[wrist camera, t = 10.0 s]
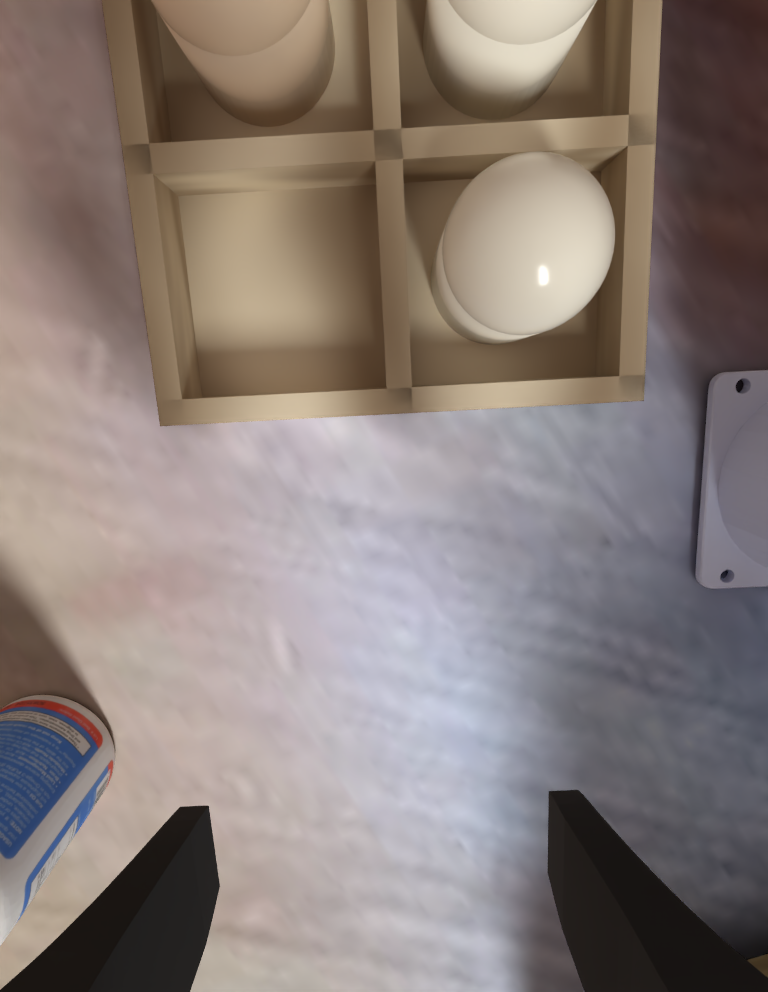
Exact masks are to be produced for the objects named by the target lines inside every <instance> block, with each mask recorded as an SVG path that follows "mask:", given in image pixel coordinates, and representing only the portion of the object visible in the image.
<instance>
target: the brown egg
mask: <svg viewBox="0 0 768 992" xmlns="http://www.w3.org/2000/svg"><path fill="white" fill-rule="evenodd" d="M151 1H152V3H153V5H154V6H155V8H156V10H157V12H158V13H159V15H160V16H161V18H162V19H163V21H164V23H165V24H166V26H167V27H168V29H169V30H170V32H171V34H172V35H173V37H174V38H175V40H176V42H177V43H178V45H179V46H180V48H181V49H182V51H183V53H184V54H185V56H186V57H187V59H188V61H189V62H190V64H191V65H192V67H193V68H194V70H195V72H196V73H197V75H198V76H199V78H200V80H201V81H202V83H203V84H204V86H205V87H206V89H207V91H208V92H209V93H210V95H211V96H212V98H213V99H214V100H215V101H216V102H217V104H218V105H219V106H220V107H221V108H222V109H224V110H225V111H226V112H227V113H228V114H230V115H231V116H233V117H234V118H236V119H238V120H240V121H242V122H244V123H248V124H251V125H255V126H261V127H274V126H281V125H285V124H288V123H291V122H293V121H295V120H297V119H299V118H300V117H302V116H303V115H305V114H306V113H307V112H308V111H310V110H311V109H312V108H313V107H314V106H315V104H316V103H317V102H318V101H319V100H320V98H321V97H322V95H323V94H324V92H325V90H326V88H327V86H328V84H329V81H330V78H331V75H332V71H333V67H334V61H335V37H334V30H333V23H332V17H331V11H330V4H329V0H151Z"/></svg>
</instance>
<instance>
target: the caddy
mask: <svg viewBox="0 0 768 992" xmlns="http://www.w3.org/2000/svg"><path fill="white" fill-rule="evenodd" d="M426 1H427V0H329V4H330V11H331V17H332V23H333V30H334V37H335V61H334V67H333V71H332V75H331V78H330V81H329V84H328V86H327V88H326V90H325V92H324V94H323V95H322V97H321V98H320V100H319V101H318V102H317V103H316V104H315V106H314V107H313V108H312V109H311V110H310V111H308V112H307V113H306V114H305V115H303V116H302V117H300V118H299V119H297V120H295V121H293V122H291V123H288V124H285V125H281V126H274V127H261V126H255V125H251V124H248V123H244V122H242V121H240V120H238V119H236V118H234V117H233V116H231V115H230V114H228V113H227V112H226V111H225V110H224V109H222V108H221V107H220V106H219V105H218V104H217V102H216V101H215V100H214V99H213V98H212V96H211V95H210V93H209V92H208V91H207V89H206V87H205V86H204V84H203V83H202V81H201V80H200V78H199V76H198V75H197V73H196V72H195V70H194V68H193V67H192V65H191V64H190V62H189V61H188V59H187V57H186V56H185V54H184V53H183V51H182V49H181V48H180V46H179V45H178V43H177V42H176V40H175V38H174V37H173V35H172V34H171V32H170V30H169V29H168V27H167V26H166V24H165V23H164V21H163V19H162V18H161V16H160V15H159V13H158V12H157V10H156V8H155V6H154V5H153V3H152V1H151V0H102V6H103V13H104V21H105V28H106V35H107V42H108V50H109V57H110V64H111V72H112V79H113V86H114V93H115V101H116V108H117V115H118V123H119V130H120V137H121V144H122V152H123V159H124V166H125V174H126V181H127V188H128V195H129V203H130V210H131V217H132V225H133V232H134V239H135V246H136V254H137V261H138V268H139V276H140V283H141V290H142V297H143V305H144V312H145V319H146V327H147V334H148V341H149V348H150V356H151V363H152V370H153V378H154V385H155V392H156V399H157V407H158V414H159V421H160V426H171V425H190V424H209V423H228V422H247V421H266V420H285V419H304V418H323V417H342V416H361V415H380V414H399V413H418V412H438V411H457V410H476V409H495V408H514V407H533V406H552V405H571V404H590V403H609V402H628V401H644V385H645V363H646V342H647V320H648V299H649V277H650V256H651V234H652V213H653V191H654V170H655V148H656V126H657V105H658V83H659V62H660V40H661V19H662V0H597V1H596V3H595V5H594V7H593V9H592V10H591V12H590V14H589V16H588V18H587V20H586V21H585V23H584V25H583V27H582V29H581V31H580V32H579V34H578V36H577V38H576V40H575V42H574V43H573V45H572V47H571V49H570V51H569V53H568V54H567V56H566V58H565V60H564V62H563V64H562V65H561V67H560V69H559V71H558V73H557V74H556V76H555V78H554V80H553V82H552V83H551V85H550V86H549V88H548V89H547V91H546V92H545V93H544V94H543V95H542V97H541V98H540V99H539V100H537V101H536V102H535V103H534V104H533V105H532V106H530V107H529V108H527V109H526V110H524V111H522V112H521V113H519V114H517V115H514V116H511V117H508V118H504V119H499V120H484V119H478V118H474V117H471V116H468V115H466V114H463V113H461V112H460V111H458V110H456V109H455V108H454V107H452V106H451V105H450V104H449V103H448V102H447V101H446V100H445V99H444V98H443V97H442V96H441V95H440V93H439V92H438V91H437V89H436V88H435V86H434V84H433V82H432V81H431V78H430V76H429V73H428V71H427V67H426V64H425V59H424V53H423V32H424V21H425V11H426ZM536 151H541V152H551V153H555V154H560V155H563V156H565V157H568V158H570V159H572V160H574V161H576V162H577V163H579V164H581V165H582V166H583V167H584V168H586V169H587V170H588V171H589V172H590V173H591V174H592V175H593V176H594V177H595V178H596V179H597V181H598V182H599V183H600V185H601V186H602V188H603V189H604V191H605V193H606V195H607V197H608V200H609V202H610V205H611V208H612V212H613V216H614V223H615V245H614V251H613V256H612V260H611V263H610V267H609V270H608V272H607V275H606V277H605V279H604V281H603V283H602V285H601V286H600V288H599V290H598V291H597V292H596V294H595V295H594V297H593V298H592V299H591V301H590V302H589V303H588V304H587V305H586V306H585V307H584V308H583V309H582V310H581V311H580V312H579V313H577V314H576V315H575V316H574V317H572V318H571V319H569V320H568V321H566V322H565V323H563V324H561V325H559V326H557V327H555V328H553V329H551V330H548V331H545V332H542V333H539V334H536V335H532V336H529V337H526V338H523V339H520V340H517V341H514V342H511V343H506V344H501V345H486V344H480V343H476V342H473V341H471V340H468V339H466V338H464V337H462V336H461V335H459V334H458V333H456V332H455V331H454V330H453V329H452V328H451V327H450V326H449V325H448V324H447V323H446V322H445V321H444V319H443V318H442V316H441V315H440V313H439V311H438V309H437V307H436V305H435V302H434V299H433V295H432V290H431V267H432V262H433V258H434V255H435V252H436V249H437V247H438V244H439V241H440V239H441V236H442V233H443V231H444V228H445V225H446V223H447V220H448V217H449V215H450V212H451V210H452V208H453V206H454V204H455V202H456V201H457V199H458V198H459V196H460V195H461V193H462V192H463V190H464V189H465V188H466V187H467V185H468V184H469V183H470V182H471V181H472V180H473V179H474V178H475V177H476V176H477V175H478V174H479V173H481V172H482V171H483V170H485V169H486V168H488V167H489V166H491V165H492V164H494V163H496V162H498V161H499V160H501V159H503V158H506V157H509V156H512V155H515V154H520V153H525V152H536Z"/></svg>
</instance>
